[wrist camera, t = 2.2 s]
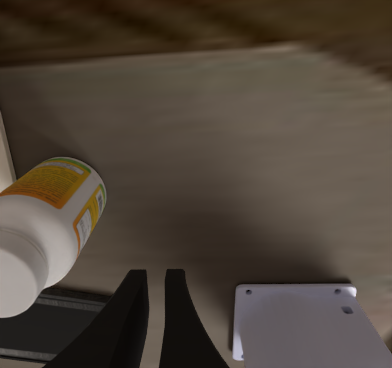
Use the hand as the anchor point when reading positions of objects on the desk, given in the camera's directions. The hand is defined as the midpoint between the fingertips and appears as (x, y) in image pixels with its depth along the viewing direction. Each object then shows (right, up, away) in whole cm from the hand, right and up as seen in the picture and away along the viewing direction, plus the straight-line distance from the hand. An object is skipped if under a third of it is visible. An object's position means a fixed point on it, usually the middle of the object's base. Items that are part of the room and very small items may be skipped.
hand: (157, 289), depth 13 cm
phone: (-12, -7, +15) cm, 20 cm away
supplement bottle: (-7, +4, +10) cm, 13 cm away
